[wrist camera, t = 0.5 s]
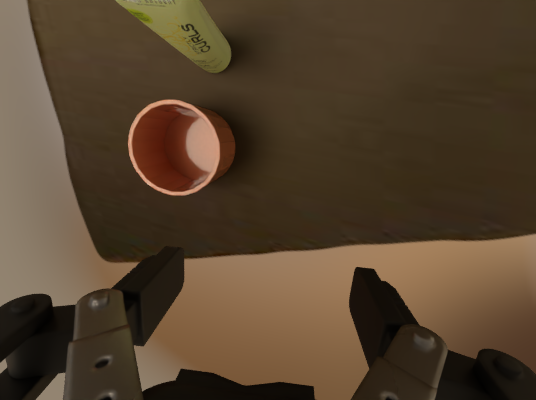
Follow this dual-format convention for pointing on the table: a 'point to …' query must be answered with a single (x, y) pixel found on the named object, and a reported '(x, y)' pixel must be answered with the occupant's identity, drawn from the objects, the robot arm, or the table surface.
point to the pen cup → (180, 146)
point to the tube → (185, 29)
